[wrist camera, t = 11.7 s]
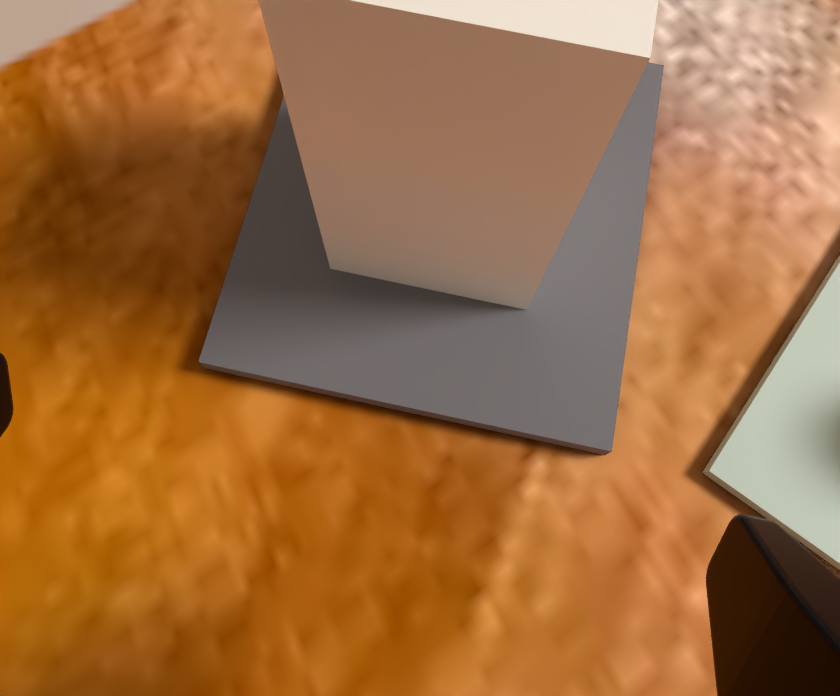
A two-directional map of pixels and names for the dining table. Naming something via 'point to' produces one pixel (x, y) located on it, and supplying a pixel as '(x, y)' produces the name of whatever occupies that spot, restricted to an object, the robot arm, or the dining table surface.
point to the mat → (444, 309)
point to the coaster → (794, 432)
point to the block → (454, 128)
